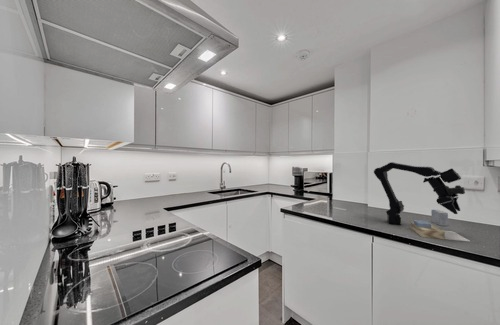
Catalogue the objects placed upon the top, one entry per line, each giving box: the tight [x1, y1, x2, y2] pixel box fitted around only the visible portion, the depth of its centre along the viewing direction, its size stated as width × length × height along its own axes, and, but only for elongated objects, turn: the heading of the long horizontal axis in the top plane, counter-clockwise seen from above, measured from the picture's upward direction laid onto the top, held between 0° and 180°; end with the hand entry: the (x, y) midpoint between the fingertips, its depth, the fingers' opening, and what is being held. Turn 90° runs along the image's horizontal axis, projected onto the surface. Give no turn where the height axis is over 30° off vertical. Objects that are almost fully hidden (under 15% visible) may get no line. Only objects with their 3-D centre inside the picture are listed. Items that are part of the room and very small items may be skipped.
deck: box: [410, 221, 446, 240], centre depth 112 cm, size 10×14×4 cm
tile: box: [413, 219, 432, 228], centre depth 112 cm, size 6×6×2 cm
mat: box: [441, 229, 471, 242], centre depth 108 cm, size 10×14×1 cm
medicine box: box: [430, 209, 449, 227], centre depth 126 cm, size 8×4×9 cm, turn 168°
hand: (457, 212), depth 105 cm, fingers open, 9 cm apart
